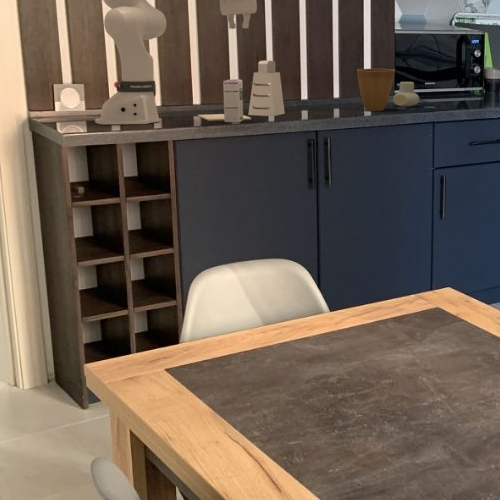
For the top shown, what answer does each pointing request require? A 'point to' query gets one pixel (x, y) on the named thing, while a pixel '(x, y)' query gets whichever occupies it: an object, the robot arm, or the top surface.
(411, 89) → the pipe tee fitting
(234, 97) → the syrup box
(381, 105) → the plant pot
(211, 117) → the mat
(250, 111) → the grater
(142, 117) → the robot arm
